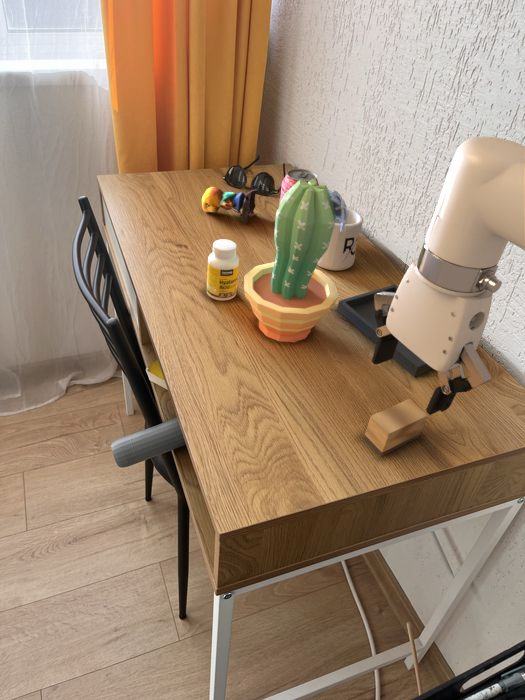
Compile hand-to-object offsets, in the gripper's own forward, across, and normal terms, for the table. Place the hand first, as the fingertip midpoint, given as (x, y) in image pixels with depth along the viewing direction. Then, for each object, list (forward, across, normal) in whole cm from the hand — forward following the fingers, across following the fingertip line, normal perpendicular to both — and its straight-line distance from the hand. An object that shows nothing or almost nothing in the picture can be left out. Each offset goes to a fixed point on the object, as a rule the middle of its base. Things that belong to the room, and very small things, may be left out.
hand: (407, 384), depth 65 cm
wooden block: (+10, -1, 0) cm, 10 cm away
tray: (+10, +17, -19) cm, 28 cm away
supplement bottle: (+11, +40, +4) cm, 42 cm away
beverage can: (+11, +57, -24) cm, 63 cm away
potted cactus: (+10, +27, -1) cm, 29 cm away
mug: (+11, +42, -24) cm, 50 cm away
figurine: (+11, +67, -13) cm, 69 cm away
